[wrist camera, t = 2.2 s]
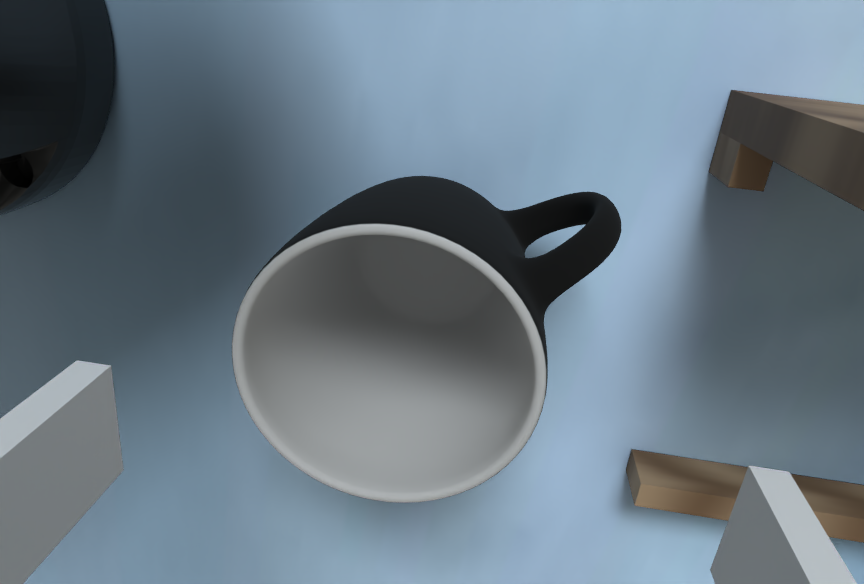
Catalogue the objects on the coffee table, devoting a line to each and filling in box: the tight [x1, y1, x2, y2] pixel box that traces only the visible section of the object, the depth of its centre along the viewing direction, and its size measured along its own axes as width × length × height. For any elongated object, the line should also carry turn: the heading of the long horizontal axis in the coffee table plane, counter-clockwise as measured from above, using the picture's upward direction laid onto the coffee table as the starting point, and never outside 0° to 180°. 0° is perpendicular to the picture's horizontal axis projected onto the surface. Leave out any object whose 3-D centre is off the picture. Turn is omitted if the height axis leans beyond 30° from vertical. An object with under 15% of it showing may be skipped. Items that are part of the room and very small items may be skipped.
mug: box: [232, 176, 621, 503], centre depth 22 cm, size 12×9×10 cm
